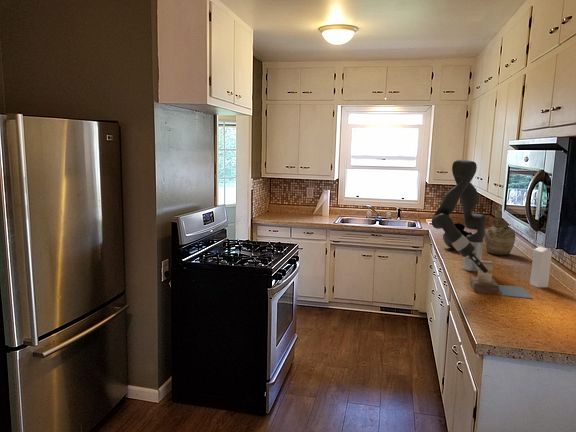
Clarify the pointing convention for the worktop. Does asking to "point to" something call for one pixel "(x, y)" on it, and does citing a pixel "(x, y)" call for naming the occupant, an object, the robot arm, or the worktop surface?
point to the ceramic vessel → (499, 236)
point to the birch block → (488, 275)
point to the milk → (540, 267)
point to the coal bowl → (460, 228)
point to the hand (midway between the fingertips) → (484, 269)
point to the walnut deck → (484, 286)
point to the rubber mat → (514, 291)
